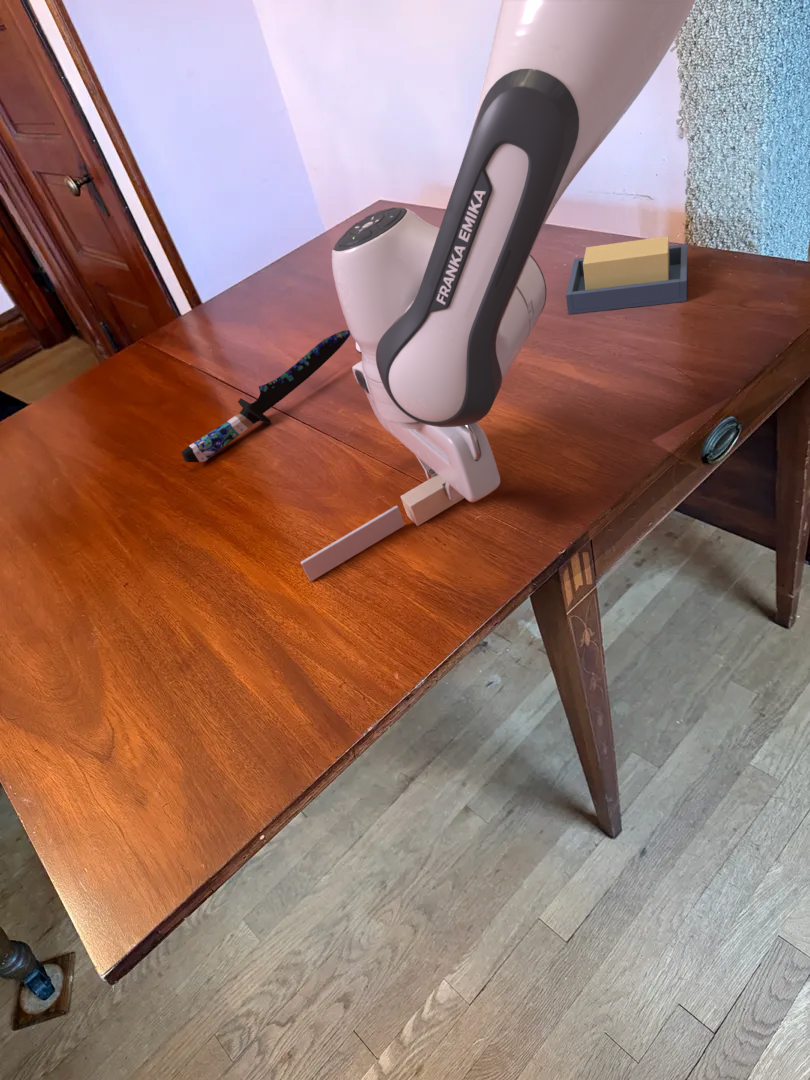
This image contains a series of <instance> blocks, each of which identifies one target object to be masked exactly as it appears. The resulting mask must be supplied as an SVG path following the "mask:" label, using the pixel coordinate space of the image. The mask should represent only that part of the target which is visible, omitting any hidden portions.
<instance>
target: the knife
mask: <svg viewBox="0 0 810 1080" xmlns="http://www.w3.org/2000/svg"><path fill="white" fill-rule="evenodd" d="M349 337H351V333H350V331H349V329H348V330H347V329H346V330H341V331H339V332H335V333H334V334H332V335H329V336H328V337H326V338H324V339H323V340H322V341H320V342H319V343H317V344H316V345H315V346H314V347H313V348H311V350H309V351H308V352H307V353H306V354H305V355H303V357H301V358H300V359H299V360H298V361H297V362H295V364H293V365H292V366H291V367H290V368H289V369H288V370H286V371H284V373H282V374H281V375H280V376H278V377H276V378H275V379H272V380H271V381H269V382H267V383H264V384H262V385H259V386H258V390H259V396H258V398H257V399H256V400H255V401H253V402H248V401H247V400H245V399H243V398H242V397H240V398H239V399H238V401H237V403H238V405H240V406H241V408H242V409H240V411H239V412H238V414H236V415H234V416H233V417H231V418H230V419H228V420H227V421H225V422H224V423H222V424H221V425H219V426H218V427H216V428H215V429H213V430H211V431H210V432H208V433H207V434H205V435H203V436H202V437H200V438H199V439H197V440H196V441H194V442H193V443H191V444H189V445H188V446H187V447H186V448H185V449H182V451H181V452H180V454H181V456H182V458H183V460H184V462H186V463H204V462H207V461H208V460H209V459H210V458H212V457H213V456H214V455H216V454H217V453H218V452H219V451H221V450H222V449H224V448H225V447H226V446H227V445H228V444H229V443H231V442H232V441H234V440H235V439H236V438H238V437H239V436H240V435H242V434H243V433H244V432H246V431H247V430H248V429H249V428H251V427H252V426H253V425H254V424H256V423H258V422H262V423H264V424H268V425H270V424H271V423H272V420H271V419H270V418H269V417H267V416H266V415H265V413H267V411H269V410H270V409H271V408H273V407H274V406H275V405H276V404H278V403H279V402H281V401H282V400H283V399H285V398H286V397H287V396H288V395H289V394H290V393H291V392H293V391H294V390H295V389H298V387H299V386H300V385H302V384H303V383H304V382H305V381H306V380H308V379H309V378H310V377H311V376H312V375H313V374H314V373H316V372H317V371H318V370H319V369H320V368H321V367H322V366H323V365H324V364H325V363H326V362H327V361H328V360H329V359H331V357H333V356H334V355H335V353H336V352H338V350H340V348H341V347H343V345H344V344H345V342H346V341H347V340H348V339H349Z"/></svg>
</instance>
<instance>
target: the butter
mask: <svg viewBox="0 0 810 1080" xmlns="http://www.w3.org/2000/svg"><path fill="white" fill-rule="evenodd" d="M669 246H670V236H669V235H666V236H665V235H664V236H657V237H651V238H643V239H636V240H628V241H622V242H615V243H608V244H601V245H593V246H586V247H585V252H584V257H583V258H584V261H583V270H584V279H585V289H586V290H590V289H598V288H607V287H615V286H623V285H632V284H640V283H648V282H657V281H665V280H669Z"/></svg>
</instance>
